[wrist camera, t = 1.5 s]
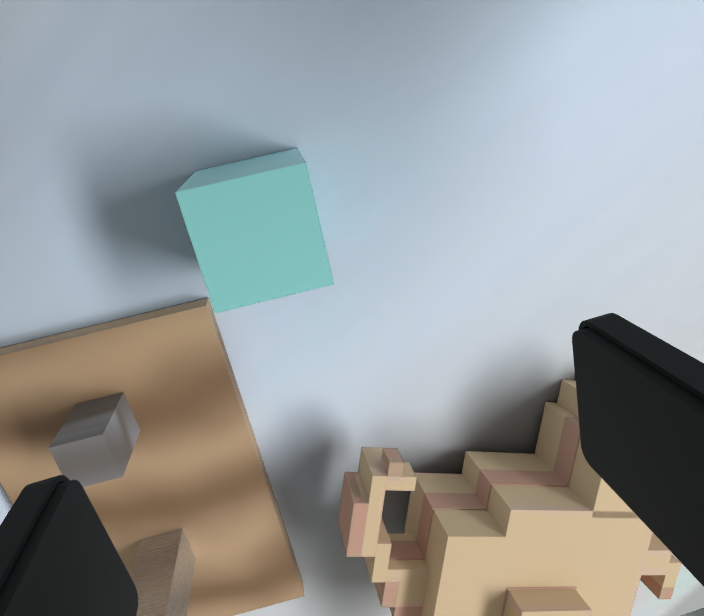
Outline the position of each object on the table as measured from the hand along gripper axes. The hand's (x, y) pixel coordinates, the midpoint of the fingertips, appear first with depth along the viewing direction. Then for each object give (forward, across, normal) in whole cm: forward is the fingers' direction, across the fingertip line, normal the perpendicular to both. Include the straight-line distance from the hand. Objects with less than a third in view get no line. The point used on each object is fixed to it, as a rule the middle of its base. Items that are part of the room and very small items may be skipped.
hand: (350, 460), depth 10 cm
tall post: (+20, +13, +17) cm, 29 cm away
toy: (+21, -8, +20) cm, 30 cm away
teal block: (+20, +1, -2) cm, 20 cm away
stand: (+21, +12, +13) cm, 28 cm away
